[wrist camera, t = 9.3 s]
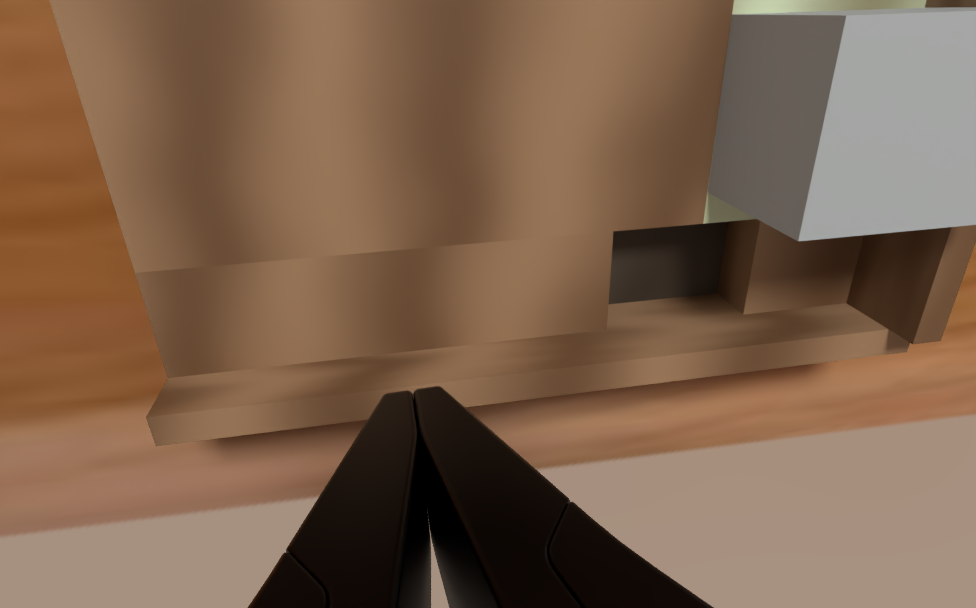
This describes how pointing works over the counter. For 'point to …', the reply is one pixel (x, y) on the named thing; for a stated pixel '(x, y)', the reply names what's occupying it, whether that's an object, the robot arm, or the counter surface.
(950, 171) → the block
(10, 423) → the counter surface
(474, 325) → the wooden tray
